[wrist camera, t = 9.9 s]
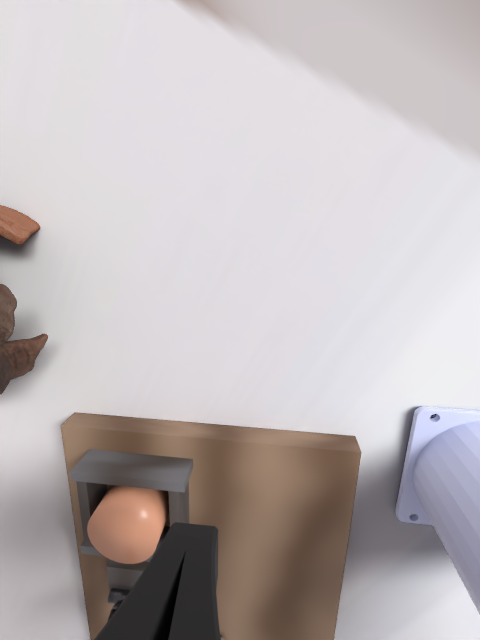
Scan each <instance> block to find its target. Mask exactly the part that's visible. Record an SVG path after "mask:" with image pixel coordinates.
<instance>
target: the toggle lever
mask: <svg viewBox="0 0 480 640" xmlns="http://www.w3.org/2000/svg"><path fill="white" fill-rule="evenodd" d="M129 592H130V590H128V589H120V588H112V589H111V590H110V593H109V596H108V603H110V604H114V606H113V607H112V609H111V612H110V615H109V617H108V620H107V622H108V621H109V619H110V618H111V617H112V615H113V614H114V612H115V611H116V610H117V608H118V607H119V606H120V604H121V603H122V602H123V600H124V599H125V598H126V596H127V595H128V593H129Z"/></svg>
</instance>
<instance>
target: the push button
mask: <svg viewBox="0 0 480 640" xmlns="http://www.w3.org/2000/svg"><path fill="white" fill-rule="evenodd" d="M168 515H169V493H168V492H167V491H165V490H155V489H146V488H136V487H127V486H117V485H111V487H110V488H109V490H108V491H107V493H106V494H105V496H104V497H103V499H102V501H101V502H100V504H99V505H98V507H97V508H96V510H95V511H94V513H93V515H92V516H91V518H90V520H89V522H88V526H87V532H88V537H89V539H90V541H91V543H92V545H93V546H94V547H95V548H96V550H97V551H98V552H100V553H101V554H102V555H103V556H105V557H107V558H108V559H110V560H113V561H115V562H119V563H124V564H136V563H140V562H143V561H145V560H147V559H148V558H150V557H151V556H152V555H153V553H154V552H155V549H156V547H157V544H158V542H159V539H160V536H161V534H162V531H163V528H164V526H165V523H166V520H167V518H168Z"/></svg>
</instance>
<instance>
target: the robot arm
mask: <svg viewBox="0 0 480 640" xmlns="http://www.w3.org/2000/svg"><path fill="white" fill-rule="evenodd" d="M433 414H437V415H436V417H434V418H430V417H431V415H433ZM395 514H396V516H397V518H398V520H399V521H401V522H405V523H414V524H424V525H433V527H434V529H435V531H436V533H437V534H438V536H439V538H440V540H441V542H442V544H443V546H444V548H445V550H446V551H447V553H448V555H449V557H450V559H451V561H452V563H453V565H454V567H455V569H456V570H457V572H458V574H459V576H460V578H461V580H462V582H463V584H464V586H465V587H466V589H467V591H468V593H469V595H470V597H471V599H472V601H473V603H474V605H475V606H476V608H477V610H478V612H479V614H480V410H468V409H454V408H441V407H428V406H422V407H419V408H417V409H416V410H415V412H414V416H413V421H412V426H411V431H410V437H409V442H408V447H407V452H406V457H405V463H404V468H403V473H402V478H401V483H400V489H399V494H398V499H397V504H396V510H395ZM412 514H415V515H412ZM410 515H412V516H410ZM217 579H218V529H217V528H216V527H215V526H209V525H199V524H189V523H179V522H175V523H173V524H172V525H171V527H170V529H169V531H168V532H167V534H166V536H165V538H164V539H163V541H162V543H161V544H160V546H159V548H158V549H157V551H156V553H155V554H154V556H153V557H152V559H151V560H150V562H149V564H148V565H147V567H146V568H145V570H144V571H143V573H142V574H141V576H140V577H139V579H138V580H137V581H136V583H135V584H134V586H133V587H132V589H131V590H130V592H129V593H128V595H127V596H126V598H125V599H124V600H123V602H122V603H121V604H120V606H119V607H118V608H117V610H116V611H115V612H114V614H113V615H112V617H111V618H110V619H109V621H108V622H107V623H106V625H105V626H104V627H103V629H102V630H101V631H100V633H99V634H98V635H97V636H96V638H95V639H94V640H221V638H220V629H219V620H218V609H217V596H216V589H217Z"/></svg>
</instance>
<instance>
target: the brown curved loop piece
mask: <svg viewBox="0 0 480 640" xmlns="http://www.w3.org/2000/svg"><path fill="white" fill-rule="evenodd" d="M39 229H40V226H39V224H38V223H37V222H35V221H34V220H32V219H31V218H29V217H28V216H26V215H24V214H22V213H20V212H18V211H16V210H14V209H11V208H8V207H6V206H1V205H0V235H1V236H2V237H4V238H6V239H8V240H10V241H12V242H14V243H15V244H23V243H24V242H25V241H26V240H27V239H28V238H29V236H30V234H33V233H35V232H36V231H38V230H39ZM16 306H17V301H16V298H15V297H14V295H13V294H12V293H11V291H10V290H9V288H8V287H6V286H5V285H3V284H0V394H2V393H3V391H4V390H5V388H6V387H7V385H8V383H9V381H10V380H12V379H14V378H17V377H19V376H22V375H24V374H26V373H27V372H29V371H31V370H32V369H33V367H34V363H35V359H36V357H37V355H38V354H39V352H40V350H41V349H42V348H43V347H44V345H45V343H46V341H47V339H48V335H47V334H41V335H39V336H37V337H34V338H31V339H23V340H15V341H7V339H8V338H9V337H10V336H11V335H12V333H13V330H14V324H15V320H14V311H15V309H16ZM6 341H7V342H6Z"/></svg>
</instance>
